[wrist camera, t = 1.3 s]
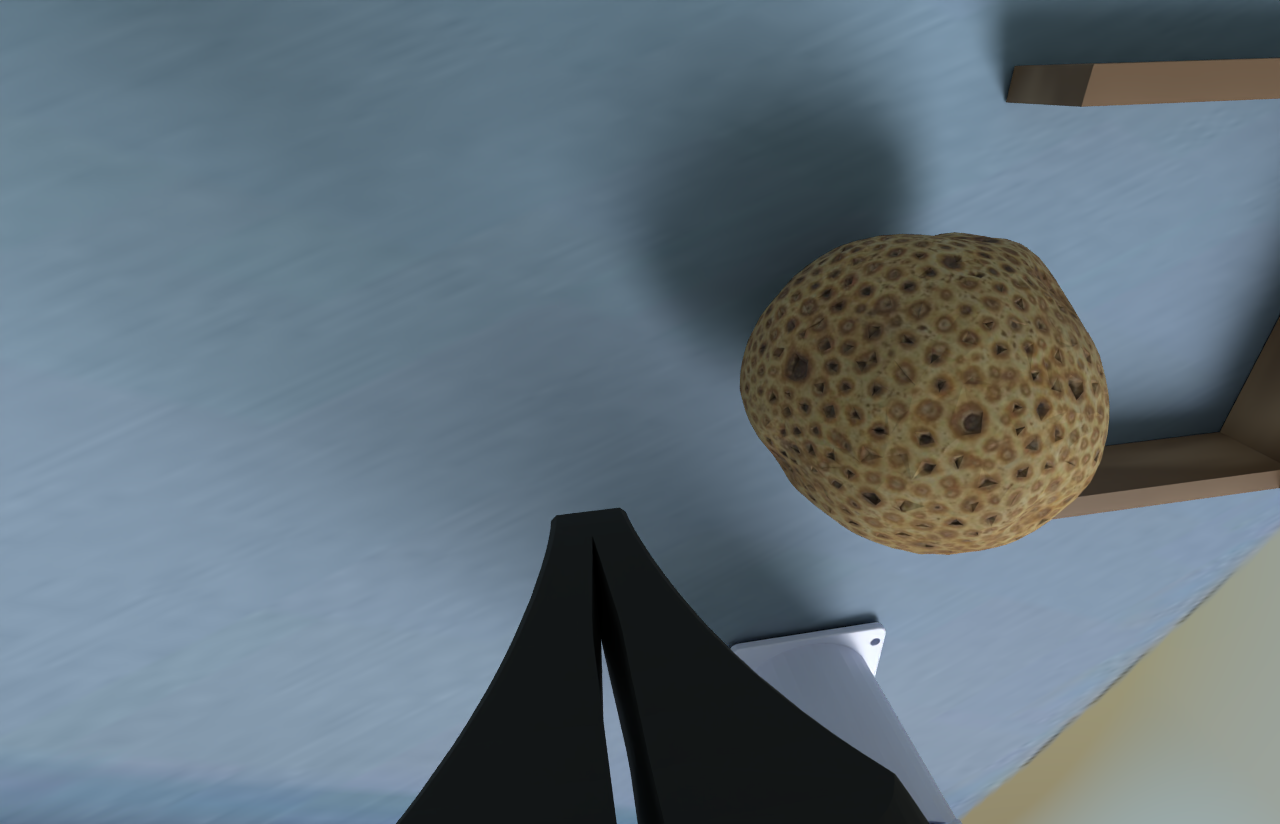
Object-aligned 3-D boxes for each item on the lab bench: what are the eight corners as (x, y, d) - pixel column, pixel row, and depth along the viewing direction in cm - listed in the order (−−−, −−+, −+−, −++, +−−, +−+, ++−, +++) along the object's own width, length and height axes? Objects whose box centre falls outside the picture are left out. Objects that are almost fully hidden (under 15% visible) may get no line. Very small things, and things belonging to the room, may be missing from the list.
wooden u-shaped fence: (1228, 447, 28) (1354, 514, 24) (913, 488, 26) (988, 568, 22) (1440, 52, 21) (1682, 46, 16) (1014, 65, 19) (1162, 63, 14)
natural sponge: (676, 414, 23) (768, 622, 14) (752, 166, 19) (943, 243, 10) (884, 443, 25) (1072, 637, 16) (989, 227, 21) (1310, 332, 12)
